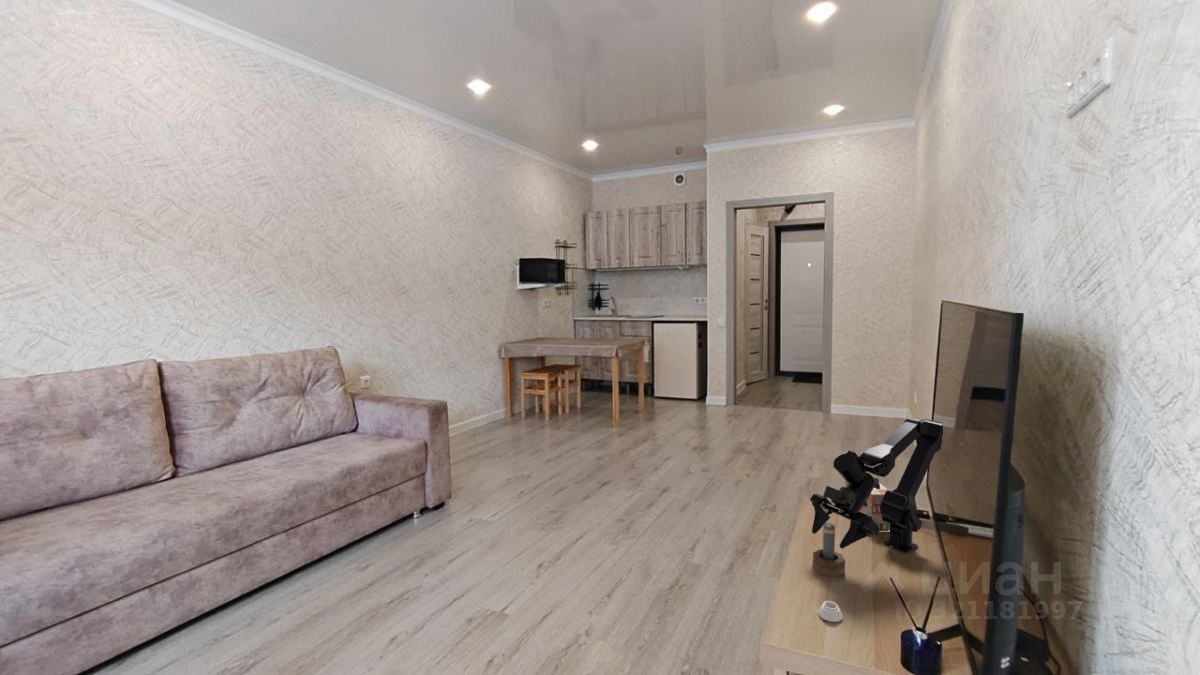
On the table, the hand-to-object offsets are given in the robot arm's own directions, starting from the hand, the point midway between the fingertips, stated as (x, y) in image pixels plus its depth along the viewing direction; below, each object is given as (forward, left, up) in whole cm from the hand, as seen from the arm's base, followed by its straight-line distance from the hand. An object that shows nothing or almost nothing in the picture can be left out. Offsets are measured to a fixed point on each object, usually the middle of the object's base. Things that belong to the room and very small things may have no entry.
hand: (826, 540), depth 142 cm
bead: (-1, 0, -8) cm, 8 cm away
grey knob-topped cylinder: (-1, 0, -8) cm, 8 cm away
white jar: (+17, +13, -9) cm, 23 cm away
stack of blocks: (-39, -12, -9) cm, 42 cm away
